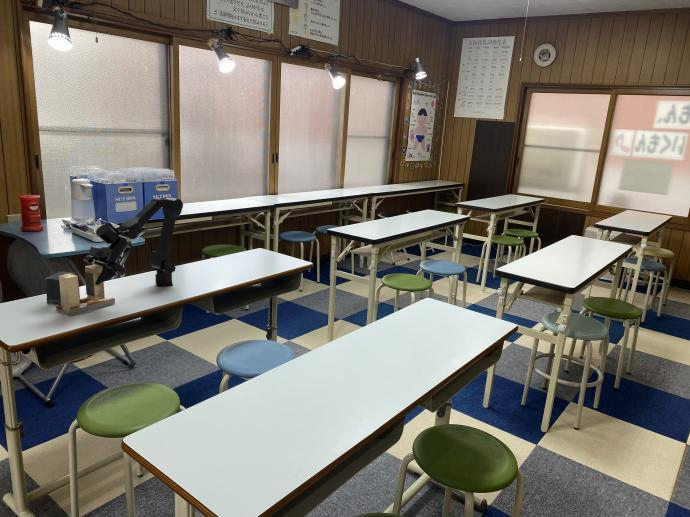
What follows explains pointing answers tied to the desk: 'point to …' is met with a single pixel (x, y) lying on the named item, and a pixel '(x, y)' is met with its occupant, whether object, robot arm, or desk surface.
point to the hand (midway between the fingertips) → (91, 283)
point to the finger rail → (76, 297)
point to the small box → (54, 288)
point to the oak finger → (92, 289)
